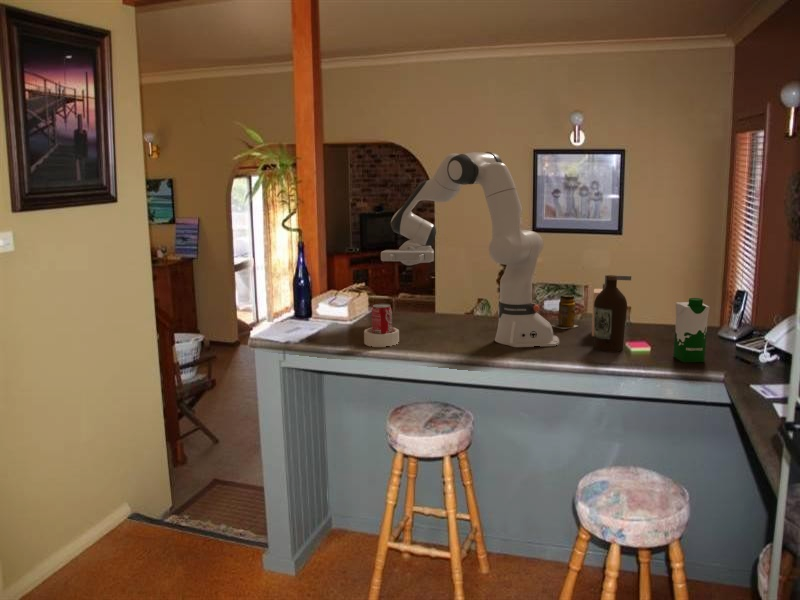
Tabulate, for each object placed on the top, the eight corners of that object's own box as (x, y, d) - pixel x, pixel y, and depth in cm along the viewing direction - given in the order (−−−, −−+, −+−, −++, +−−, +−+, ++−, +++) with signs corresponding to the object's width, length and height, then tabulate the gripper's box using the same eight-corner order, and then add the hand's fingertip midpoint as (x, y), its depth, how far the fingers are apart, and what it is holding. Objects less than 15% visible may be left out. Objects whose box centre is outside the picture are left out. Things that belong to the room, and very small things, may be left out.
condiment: (579, 326, 274) (580, 295, 271) (564, 329, 269) (565, 298, 266) (564, 323, 279) (565, 293, 277) (549, 326, 274) (550, 295, 272)
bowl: (400, 339, 257) (400, 326, 256) (396, 347, 245) (396, 334, 244) (367, 338, 258) (367, 326, 257) (362, 346, 246) (361, 334, 245)
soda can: (389, 344, 246) (388, 307, 243) (369, 343, 248) (368, 306, 245) (394, 339, 253) (394, 303, 250) (375, 338, 255) (375, 303, 252)
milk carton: (681, 363, 222) (685, 300, 218) (669, 355, 230) (673, 295, 227) (708, 362, 222) (713, 300, 218) (695, 355, 231) (700, 294, 227)
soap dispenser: (591, 336, 257) (594, 276, 253) (592, 331, 265) (594, 273, 261) (628, 338, 254) (631, 277, 250) (628, 333, 262) (631, 274, 258)
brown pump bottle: (605, 342, 248) (608, 272, 243) (631, 348, 239) (635, 275, 235) (585, 347, 242) (588, 275, 237) (611, 354, 233) (615, 279, 228)
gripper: (382, 245, 276) (377, 249, 263) (435, 245, 274) (432, 250, 260) (383, 261, 277) (377, 266, 264) (435, 261, 275) (432, 267, 261)
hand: (405, 258), depth 262 cm, fingers open, 8 cm apart
